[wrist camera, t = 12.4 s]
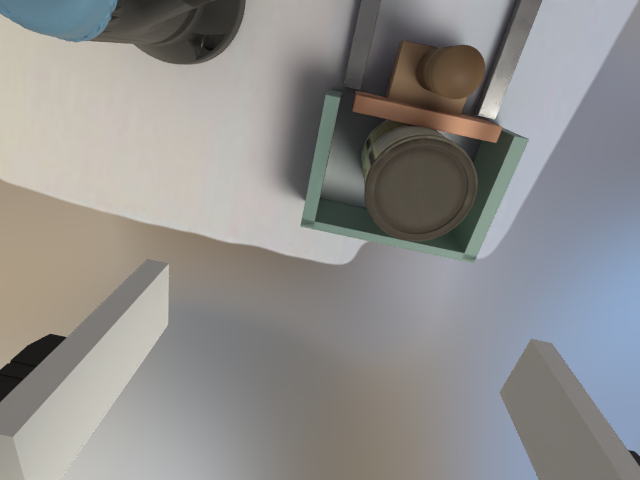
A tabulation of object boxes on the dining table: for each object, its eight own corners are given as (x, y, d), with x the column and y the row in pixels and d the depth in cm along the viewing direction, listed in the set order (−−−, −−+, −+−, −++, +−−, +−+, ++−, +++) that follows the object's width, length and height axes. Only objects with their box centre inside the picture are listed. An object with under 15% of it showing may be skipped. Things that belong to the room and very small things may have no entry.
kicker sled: (352, 105, 43) (353, 120, 32) (368, 34, 39) (374, 24, 29) (477, 132, 43) (520, 156, 32) (503, 64, 40) (560, 66, 29)
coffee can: (456, 171, 47) (495, 211, 34) (383, 208, 50) (395, 258, 37) (421, 97, 44) (450, 112, 31) (346, 142, 47) (344, 172, 34)
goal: (307, 202, 50) (300, 226, 43) (329, 89, 44) (325, 94, 37) (456, 234, 51) (473, 263, 44) (500, 126, 44) (529, 139, 37)
